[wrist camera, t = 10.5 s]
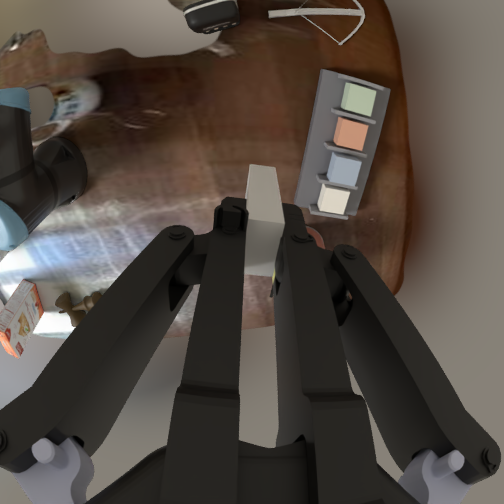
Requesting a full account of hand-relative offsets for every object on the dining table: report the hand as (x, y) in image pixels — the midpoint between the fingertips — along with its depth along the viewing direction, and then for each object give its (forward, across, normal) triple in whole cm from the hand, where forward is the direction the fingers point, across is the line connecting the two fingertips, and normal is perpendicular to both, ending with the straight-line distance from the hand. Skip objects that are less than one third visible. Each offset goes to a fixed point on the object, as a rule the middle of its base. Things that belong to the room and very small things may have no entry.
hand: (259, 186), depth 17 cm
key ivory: (+30, +15, -12) cm, 35 cm away
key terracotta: (+30, +15, 0) cm, 33 cm away
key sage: (+30, +15, +6) cm, 34 cm away
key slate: (+29, +15, -6) cm, 33 cm away
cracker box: (+33, -65, -56) cm, 92 cm away
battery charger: (+33, -8, +15) cm, 37 cm away
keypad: (+32, +15, -3) cm, 36 cm away
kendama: (+33, -44, -53) cm, 76 cm away
